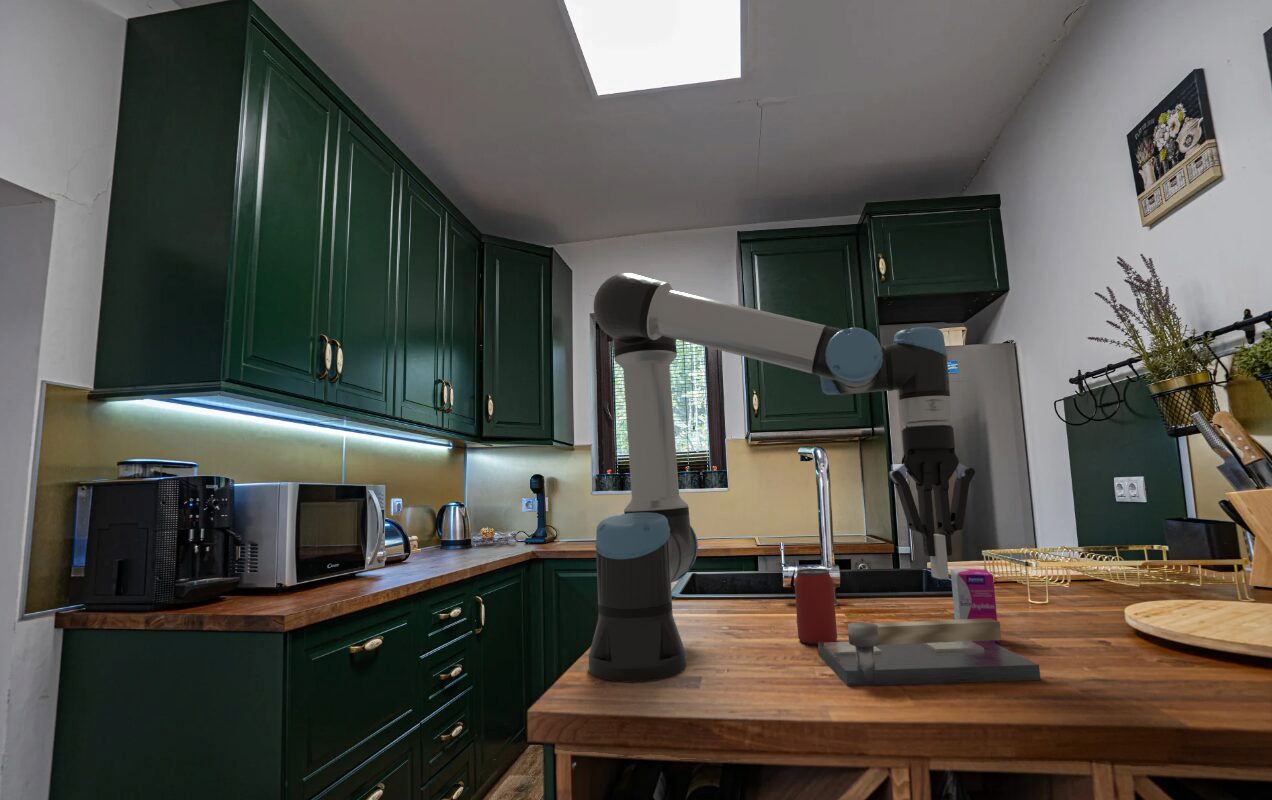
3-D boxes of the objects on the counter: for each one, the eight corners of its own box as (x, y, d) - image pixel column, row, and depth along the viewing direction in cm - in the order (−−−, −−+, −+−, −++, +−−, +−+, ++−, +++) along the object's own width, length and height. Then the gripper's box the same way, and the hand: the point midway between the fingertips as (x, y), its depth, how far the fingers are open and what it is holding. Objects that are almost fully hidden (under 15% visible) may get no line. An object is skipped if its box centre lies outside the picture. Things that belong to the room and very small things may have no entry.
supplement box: (961, 644, 109) (955, 573, 111) (955, 635, 115) (949, 568, 116) (1000, 645, 108) (993, 573, 109) (992, 636, 113) (985, 568, 115)
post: (861, 686, 90) (858, 648, 91) (855, 680, 92) (853, 643, 93) (878, 685, 90) (875, 647, 91) (873, 680, 92) (870, 643, 93)
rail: (854, 647, 90) (853, 629, 90) (845, 640, 94) (843, 623, 94) (1004, 641, 90) (1002, 623, 90) (989, 634, 94) (987, 617, 94)
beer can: (790, 640, 117) (786, 570, 118) (820, 635, 119) (815, 567, 121) (815, 647, 111) (810, 574, 112) (845, 642, 114) (840, 570, 115)
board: (847, 686, 90) (846, 667, 91) (818, 655, 106) (817, 639, 106) (1040, 680, 90) (1038, 661, 90) (982, 649, 106) (981, 634, 106)
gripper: (893, 425, 102) (906, 582, 99) (979, 421, 101) (995, 580, 98) (877, 428, 109) (889, 575, 106) (957, 425, 109) (971, 572, 106)
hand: (940, 577), depth 102 cm, fingers closed
